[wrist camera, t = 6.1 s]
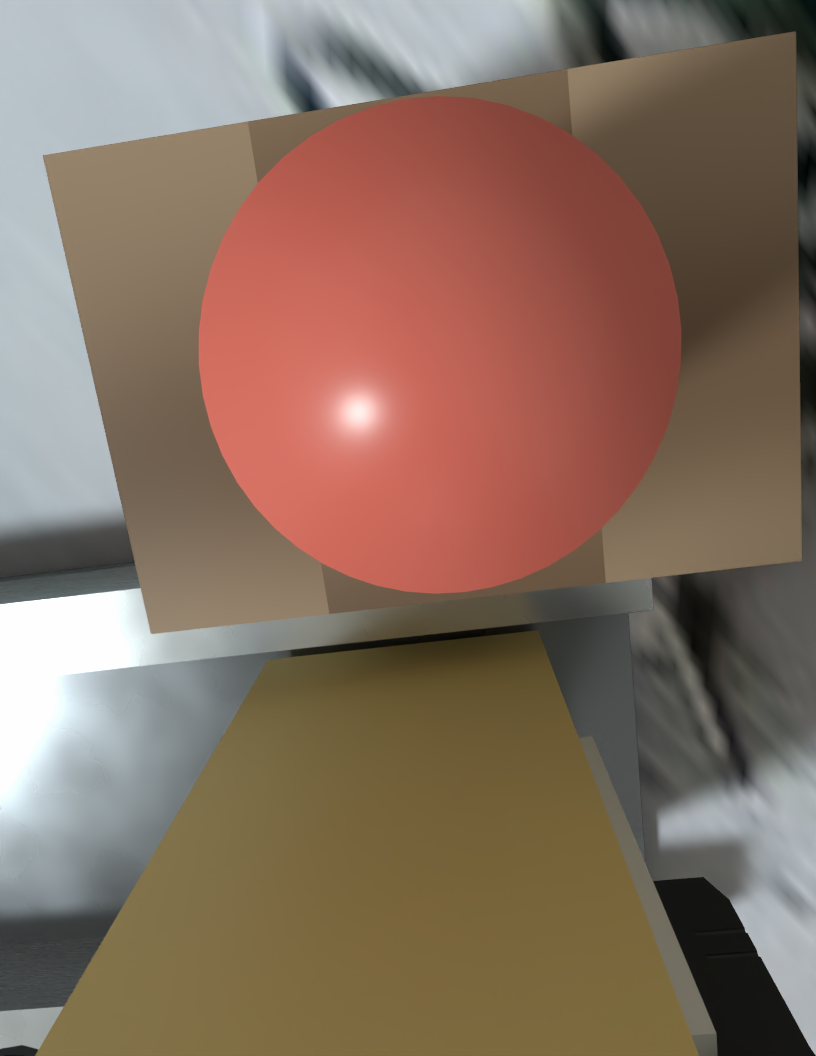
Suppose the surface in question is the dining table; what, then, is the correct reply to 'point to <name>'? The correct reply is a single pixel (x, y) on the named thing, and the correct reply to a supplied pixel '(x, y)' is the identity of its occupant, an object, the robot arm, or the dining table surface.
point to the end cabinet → (698, 272)
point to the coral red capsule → (439, 344)
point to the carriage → (386, 879)
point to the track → (202, 736)
